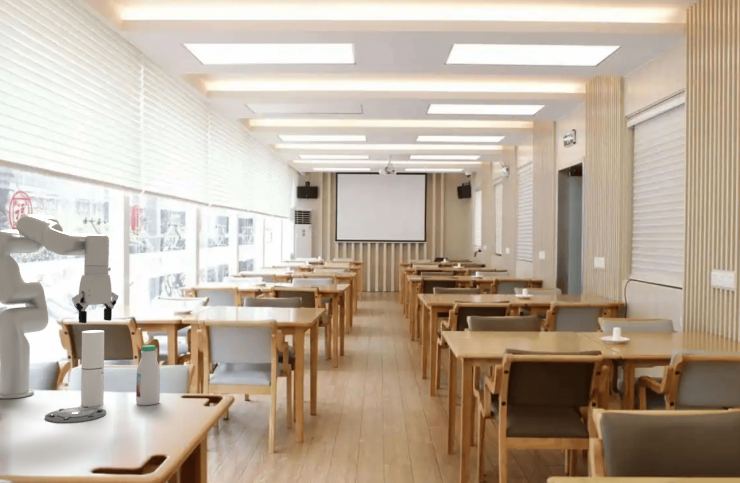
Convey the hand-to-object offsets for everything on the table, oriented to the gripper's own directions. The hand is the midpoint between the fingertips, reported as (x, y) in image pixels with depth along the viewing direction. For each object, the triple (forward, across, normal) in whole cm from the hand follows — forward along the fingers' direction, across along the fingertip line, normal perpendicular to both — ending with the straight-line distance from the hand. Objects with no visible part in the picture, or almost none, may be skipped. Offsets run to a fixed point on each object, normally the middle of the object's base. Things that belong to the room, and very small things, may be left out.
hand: (95, 321), depth 228 cm
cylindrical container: (+29, -3, -4) cm, 30 cm away
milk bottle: (+29, -14, +11) cm, 34 cm away
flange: (+29, +10, +5) cm, 31 cm away
